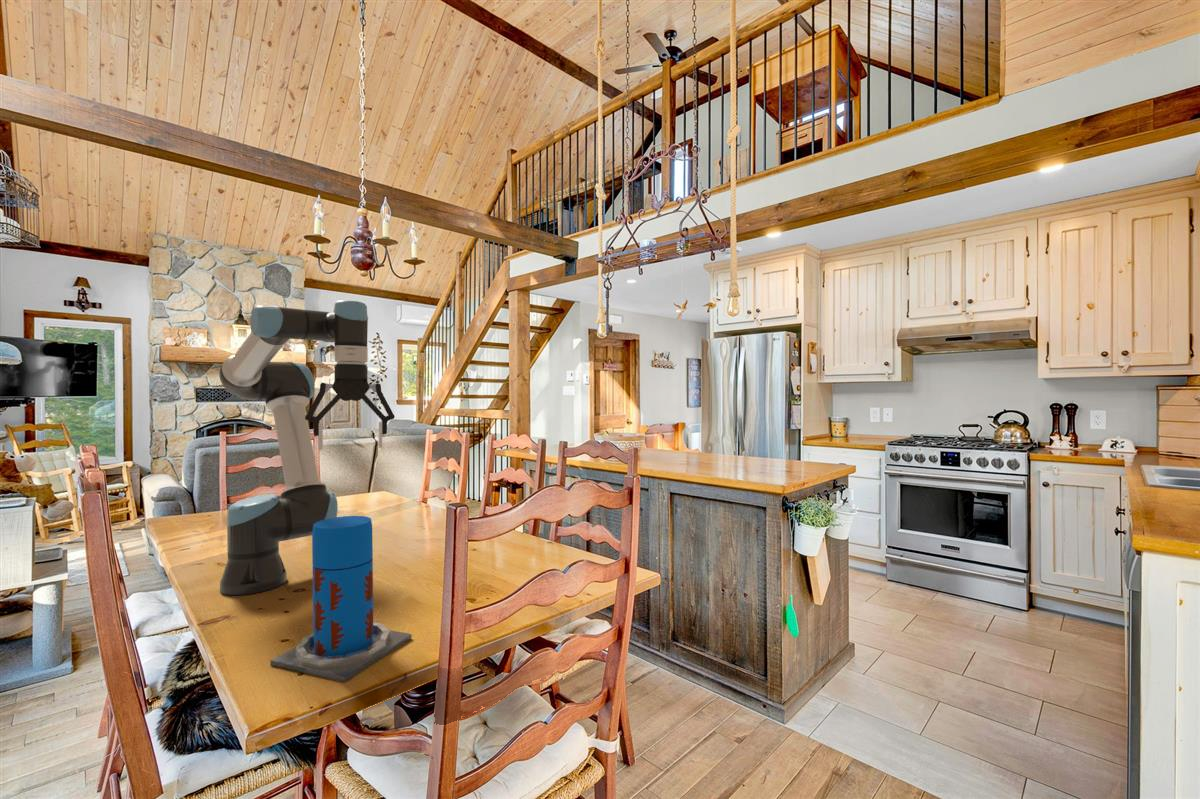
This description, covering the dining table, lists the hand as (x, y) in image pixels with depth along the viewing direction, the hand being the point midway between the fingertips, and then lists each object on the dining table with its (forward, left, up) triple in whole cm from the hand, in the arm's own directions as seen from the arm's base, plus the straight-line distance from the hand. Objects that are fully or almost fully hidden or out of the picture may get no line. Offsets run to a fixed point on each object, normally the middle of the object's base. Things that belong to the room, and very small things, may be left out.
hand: (351, 448), depth 136 cm
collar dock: (+20, -23, -38) cm, 48 cm away
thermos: (+20, -23, -37) cm, 48 cm away
